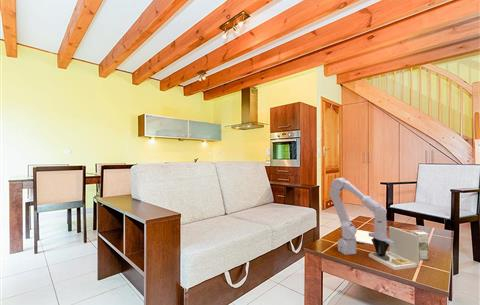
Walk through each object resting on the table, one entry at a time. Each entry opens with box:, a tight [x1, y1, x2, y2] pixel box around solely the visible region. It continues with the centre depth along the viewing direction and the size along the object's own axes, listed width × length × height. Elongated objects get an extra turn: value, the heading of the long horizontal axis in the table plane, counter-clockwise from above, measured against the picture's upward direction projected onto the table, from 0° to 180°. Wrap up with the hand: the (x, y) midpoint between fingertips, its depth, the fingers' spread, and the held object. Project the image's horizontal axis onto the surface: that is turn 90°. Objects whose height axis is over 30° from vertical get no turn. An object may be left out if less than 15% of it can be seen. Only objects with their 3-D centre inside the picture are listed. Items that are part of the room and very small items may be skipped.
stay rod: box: [378, 245, 383, 257], centre depth 123 cm, size 2×2×7 cm
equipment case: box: [368, 226, 420, 271], centre depth 120 cm, size 15×16×16 cm
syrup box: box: [410, 230, 429, 261], centre depth 127 cm, size 6×6×14 cm
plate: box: [341, 229, 374, 246], centre depth 157 cm, size 25×25×2 cm
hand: (380, 253), depth 123 cm, fingers open, 3 cm apart
